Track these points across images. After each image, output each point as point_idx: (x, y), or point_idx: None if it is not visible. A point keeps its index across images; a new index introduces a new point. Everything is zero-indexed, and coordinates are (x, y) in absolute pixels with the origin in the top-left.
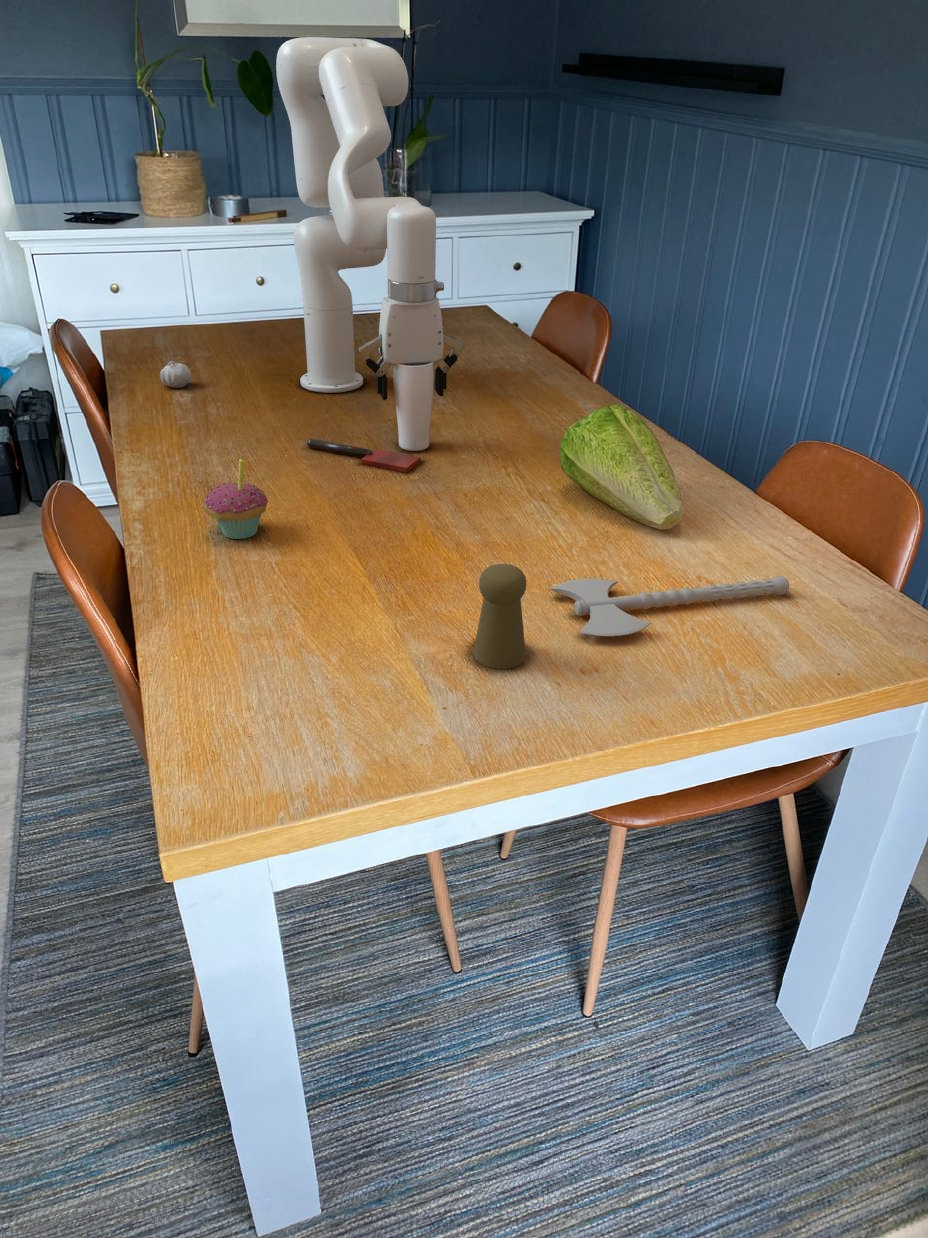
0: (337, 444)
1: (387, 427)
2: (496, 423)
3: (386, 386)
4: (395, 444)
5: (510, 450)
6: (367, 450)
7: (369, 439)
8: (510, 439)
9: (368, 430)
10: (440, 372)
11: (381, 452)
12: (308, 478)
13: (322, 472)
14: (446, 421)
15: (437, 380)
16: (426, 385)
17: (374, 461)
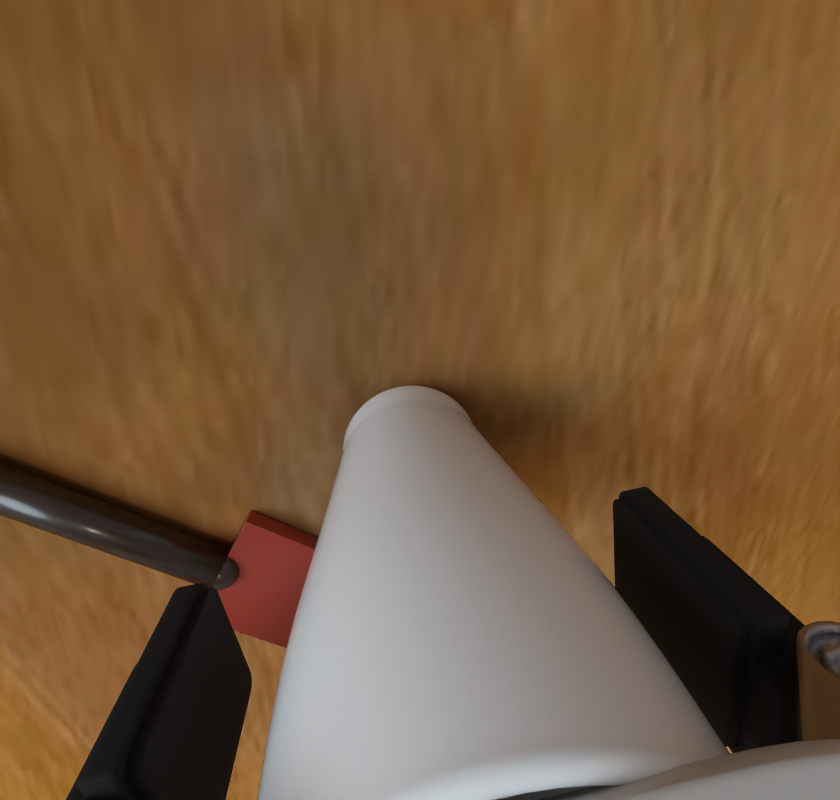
0: (59, 530)
1: (284, 176)
2: (830, 155)
3: (223, 783)
4: (329, 412)
5: (759, 476)
6: (210, 586)
7: (203, 349)
8: (804, 368)
9: (182, 219)
10: (745, 741)
11: (272, 559)
12: (26, 711)
13: (65, 668)
14: (604, 99)
15: (672, 628)
16: (553, 791)
17: (250, 635)
